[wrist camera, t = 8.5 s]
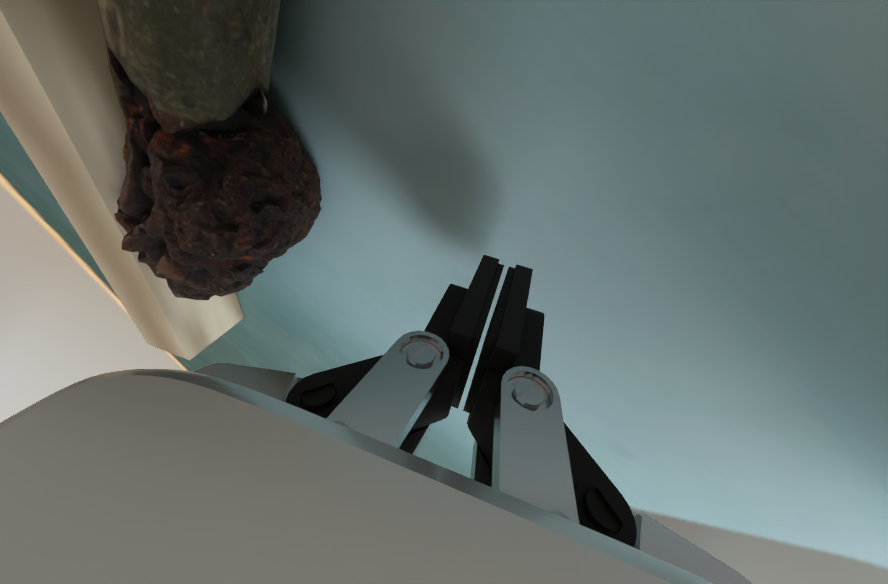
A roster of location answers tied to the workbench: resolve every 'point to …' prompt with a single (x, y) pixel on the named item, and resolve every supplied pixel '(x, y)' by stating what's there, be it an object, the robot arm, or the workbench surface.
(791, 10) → the workbench surface
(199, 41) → the brown long lumpy piece
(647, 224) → the workbench surface
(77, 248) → the workbench surface
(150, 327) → the bar
